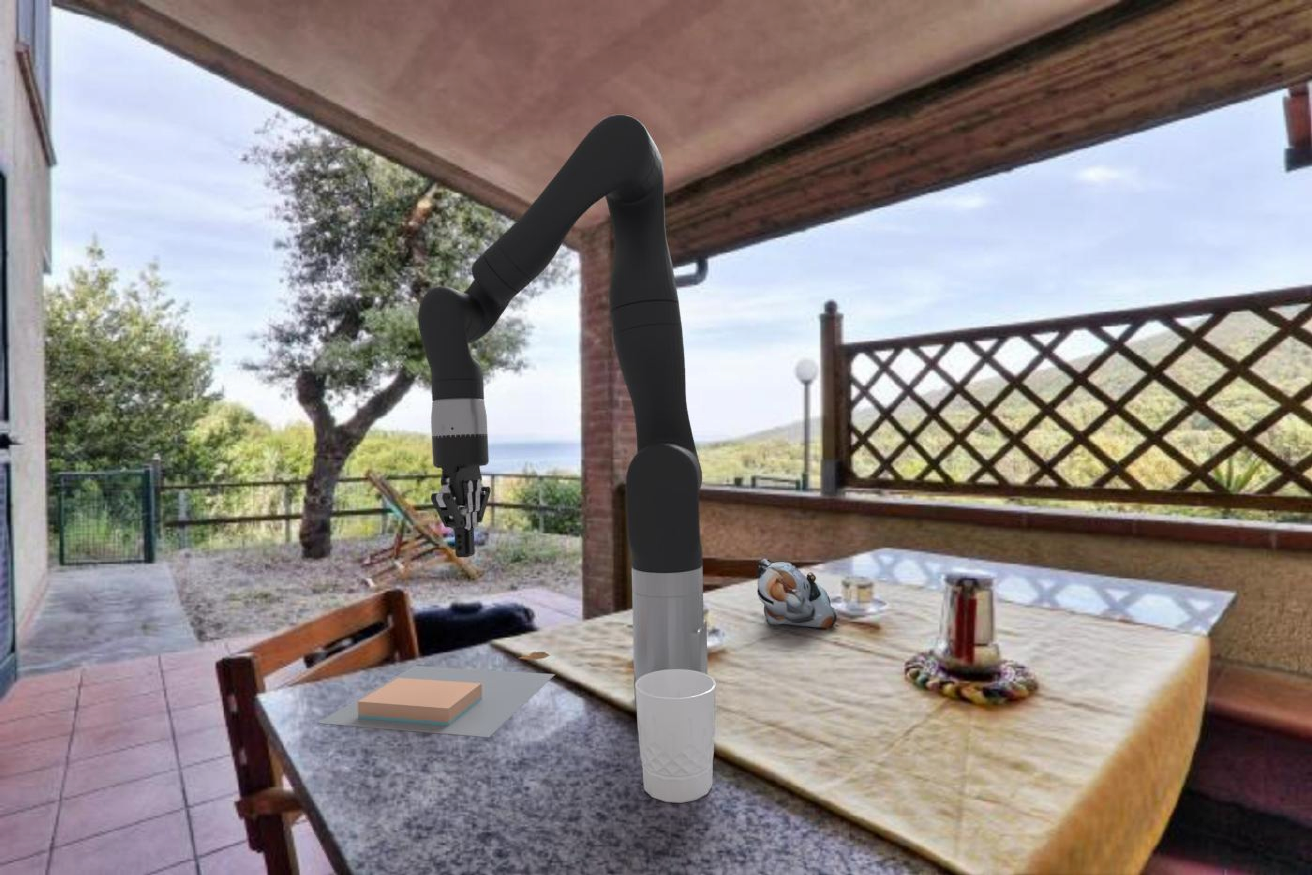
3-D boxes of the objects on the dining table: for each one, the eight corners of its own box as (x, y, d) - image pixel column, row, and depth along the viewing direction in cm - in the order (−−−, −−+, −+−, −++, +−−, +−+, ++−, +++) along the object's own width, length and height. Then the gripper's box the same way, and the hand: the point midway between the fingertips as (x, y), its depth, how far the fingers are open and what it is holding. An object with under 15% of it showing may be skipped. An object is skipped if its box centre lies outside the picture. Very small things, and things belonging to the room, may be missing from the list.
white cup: (635, 767, 69) (633, 670, 69) (710, 763, 69) (708, 666, 69) (639, 810, 61) (637, 700, 61) (725, 804, 62) (722, 696, 62)
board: (555, 682, 93) (554, 674, 93) (489, 747, 74) (488, 737, 74) (414, 673, 98) (414, 665, 98) (317, 732, 79) (317, 722, 79)
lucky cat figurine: (851, 628, 116) (831, 564, 111) (790, 659, 115) (767, 596, 110) (812, 586, 130) (792, 528, 125) (757, 613, 129) (735, 556, 124)
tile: (481, 683, 85) (448, 708, 77) (482, 698, 85) (448, 725, 77) (398, 677, 88) (357, 701, 80) (398, 692, 88) (358, 718, 80)
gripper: (460, 431, 86) (466, 565, 86) (505, 431, 99) (510, 548, 99) (408, 434, 88) (414, 565, 88) (459, 434, 101) (464, 548, 101)
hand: (465, 556), depth 94 cm, fingers closed
